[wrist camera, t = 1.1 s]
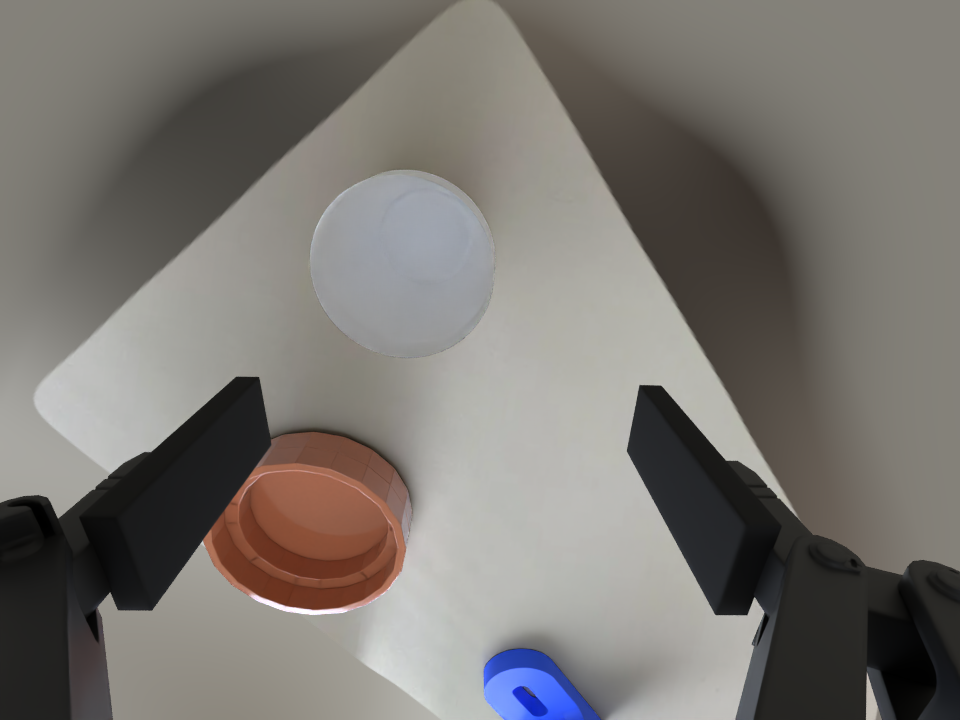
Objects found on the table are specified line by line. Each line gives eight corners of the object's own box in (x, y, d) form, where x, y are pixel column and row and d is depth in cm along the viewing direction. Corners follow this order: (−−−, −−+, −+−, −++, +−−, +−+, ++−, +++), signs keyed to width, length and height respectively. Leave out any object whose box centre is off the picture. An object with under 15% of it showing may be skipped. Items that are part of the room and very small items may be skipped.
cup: (504, 277, 33) (520, 331, 22) (392, 313, 34) (353, 381, 23) (466, 150, 30) (463, 139, 19) (342, 193, 31) (270, 208, 20)
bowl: (196, 499, 41) (161, 540, 36) (313, 393, 37) (290, 425, 32) (332, 592, 46) (316, 639, 41) (448, 509, 42) (445, 551, 37)
